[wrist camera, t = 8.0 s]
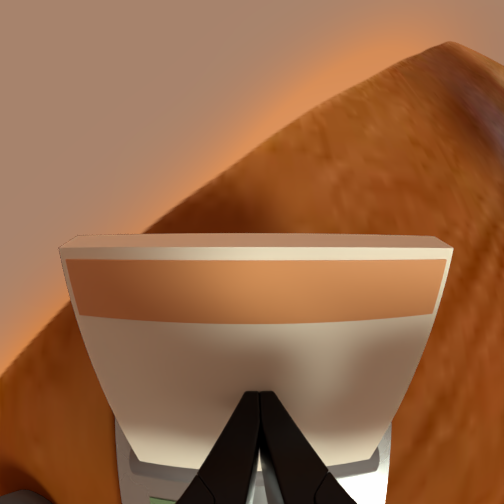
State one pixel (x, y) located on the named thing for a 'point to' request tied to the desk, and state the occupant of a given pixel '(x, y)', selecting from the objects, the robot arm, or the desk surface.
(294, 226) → the desk surface
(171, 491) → the grey flat slab
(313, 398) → the bowl
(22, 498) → the grey river pebble
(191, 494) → the robot arm
